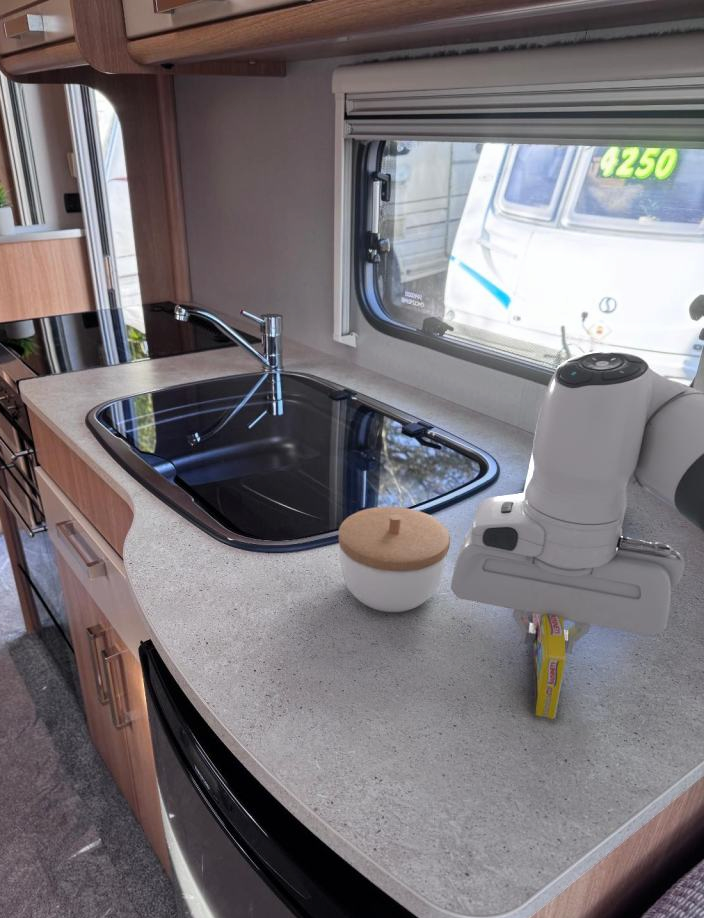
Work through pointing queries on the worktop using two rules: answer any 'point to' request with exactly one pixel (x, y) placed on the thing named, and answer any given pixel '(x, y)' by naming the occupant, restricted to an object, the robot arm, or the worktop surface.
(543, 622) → the candy box
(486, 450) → the worktop surface
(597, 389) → the robot arm
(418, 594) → the lidded bowl
